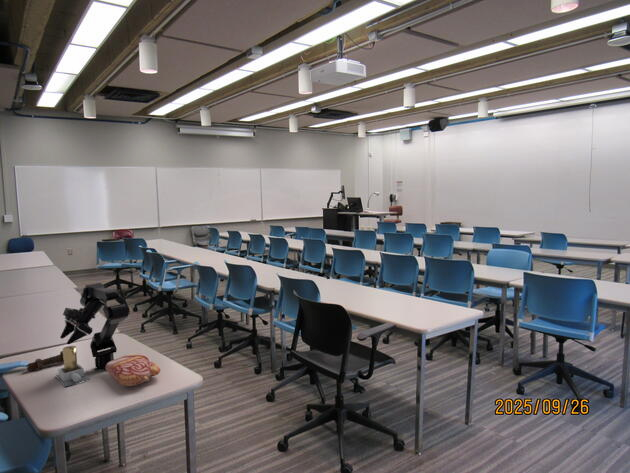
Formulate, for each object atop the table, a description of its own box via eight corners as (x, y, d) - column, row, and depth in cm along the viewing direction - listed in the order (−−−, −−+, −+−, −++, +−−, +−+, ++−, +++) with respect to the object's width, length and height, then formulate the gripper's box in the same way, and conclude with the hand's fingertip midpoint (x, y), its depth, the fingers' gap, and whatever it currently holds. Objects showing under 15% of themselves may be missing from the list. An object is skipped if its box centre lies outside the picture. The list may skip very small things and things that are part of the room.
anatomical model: (123, 377, 160) (98, 356, 182) (124, 396, 161) (99, 373, 183) (167, 365, 172) (138, 346, 193) (168, 382, 172) (139, 361, 194)
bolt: (27, 375, 185) (66, 364, 196) (29, 373, 182) (68, 361, 193) (24, 362, 187) (62, 351, 197) (26, 360, 183) (65, 349, 194)
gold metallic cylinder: (80, 372, 181) (78, 345, 180) (74, 377, 176) (72, 350, 175) (68, 373, 181) (66, 345, 179) (62, 378, 176) (60, 350, 175)
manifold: (79, 369, 186) (78, 361, 185) (89, 380, 175) (89, 371, 175) (55, 376, 179) (55, 368, 179) (65, 387, 169) (64, 378, 169)
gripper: (68, 296, 191) (41, 326, 184) (82, 304, 178) (54, 337, 171) (88, 309, 197) (63, 339, 191) (103, 318, 184) (77, 350, 178)
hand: (64, 341), depth 182 cm, fingers open, 9 cm apart
